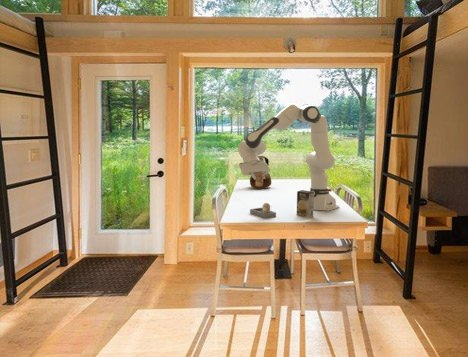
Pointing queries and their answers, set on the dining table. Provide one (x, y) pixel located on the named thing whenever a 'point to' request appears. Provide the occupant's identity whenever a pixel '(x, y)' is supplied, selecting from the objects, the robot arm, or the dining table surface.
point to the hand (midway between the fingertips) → (260, 178)
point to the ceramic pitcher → (265, 181)
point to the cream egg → (266, 208)
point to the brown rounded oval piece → (259, 179)
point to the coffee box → (305, 203)
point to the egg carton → (260, 213)
